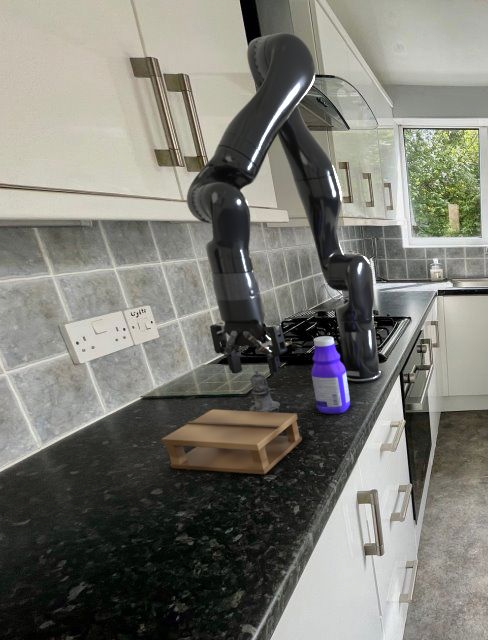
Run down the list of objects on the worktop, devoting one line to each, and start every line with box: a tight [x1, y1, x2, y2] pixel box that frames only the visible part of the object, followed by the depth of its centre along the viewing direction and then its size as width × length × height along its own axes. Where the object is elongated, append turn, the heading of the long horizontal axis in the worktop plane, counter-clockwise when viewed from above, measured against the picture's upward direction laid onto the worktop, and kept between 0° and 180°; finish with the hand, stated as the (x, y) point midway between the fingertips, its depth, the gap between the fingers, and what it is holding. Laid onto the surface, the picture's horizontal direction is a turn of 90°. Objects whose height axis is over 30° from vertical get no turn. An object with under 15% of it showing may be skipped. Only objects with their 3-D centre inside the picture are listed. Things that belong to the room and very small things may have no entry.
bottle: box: [310, 335, 351, 415], centre depth 92 cm, size 7×6×17 cm
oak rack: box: [160, 409, 303, 475], centre depth 77 cm, size 12×18×6 cm, turn 84°
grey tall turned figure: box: [249, 370, 281, 413], centre depth 88 cm, size 6×6×12 cm
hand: (256, 373), depth 86 cm, fingers open, 8 cm apart
